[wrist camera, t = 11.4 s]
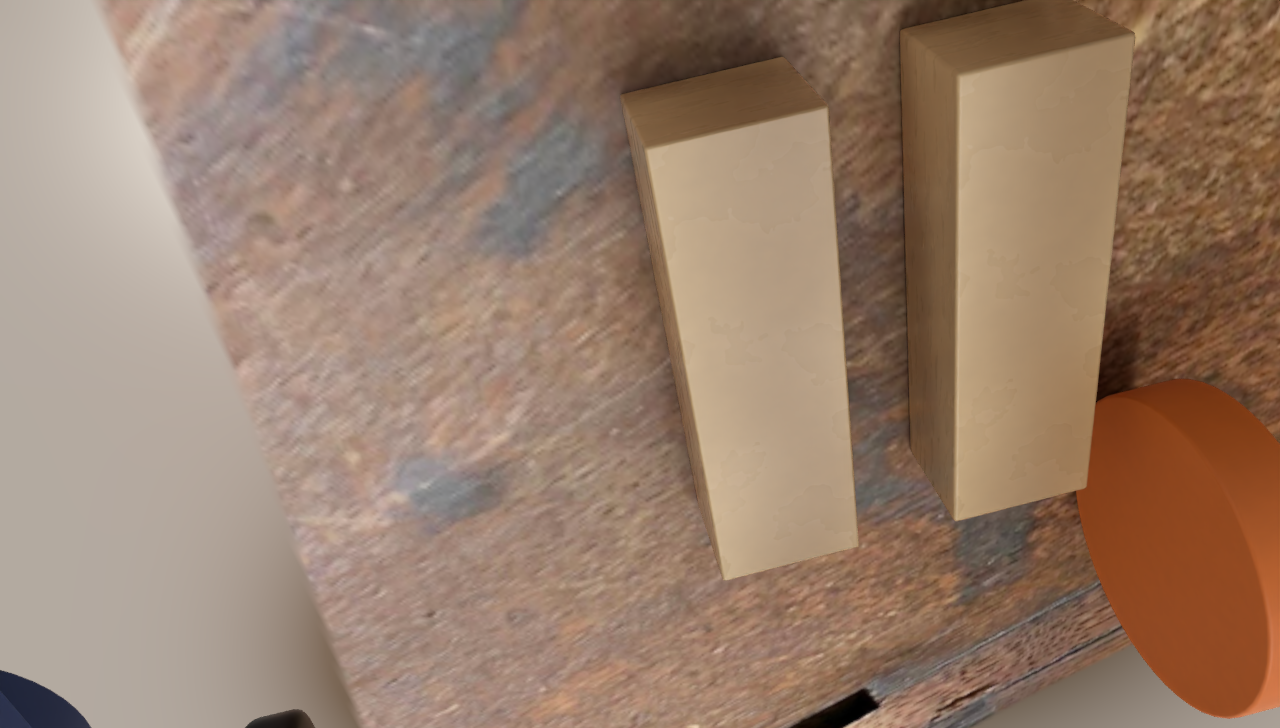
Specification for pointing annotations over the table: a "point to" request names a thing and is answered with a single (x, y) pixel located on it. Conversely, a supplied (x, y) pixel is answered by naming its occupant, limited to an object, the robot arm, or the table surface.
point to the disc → (1190, 540)
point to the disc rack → (935, 272)
